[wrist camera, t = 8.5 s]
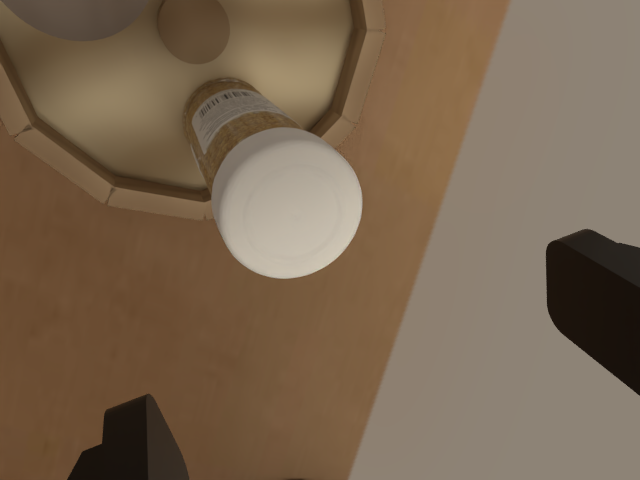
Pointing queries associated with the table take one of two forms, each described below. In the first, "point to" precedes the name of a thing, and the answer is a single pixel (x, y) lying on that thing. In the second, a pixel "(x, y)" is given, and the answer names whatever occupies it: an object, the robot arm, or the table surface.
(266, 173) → the seasoning bottle
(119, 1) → the white jar
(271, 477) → the table surface
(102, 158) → the condiment caddy
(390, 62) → the table surface
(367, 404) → the table surface
